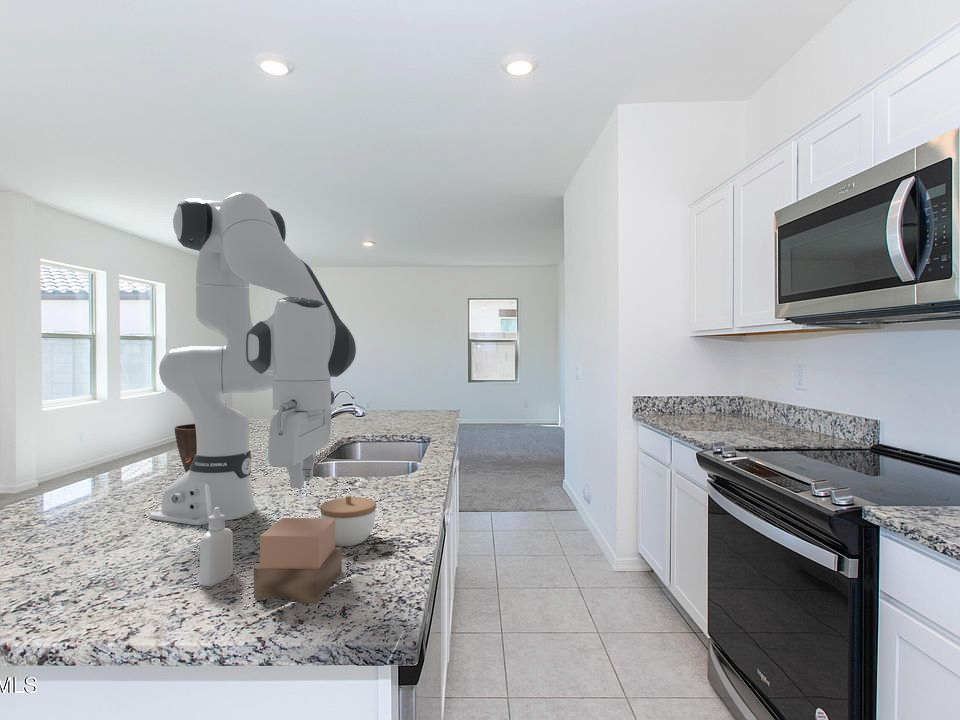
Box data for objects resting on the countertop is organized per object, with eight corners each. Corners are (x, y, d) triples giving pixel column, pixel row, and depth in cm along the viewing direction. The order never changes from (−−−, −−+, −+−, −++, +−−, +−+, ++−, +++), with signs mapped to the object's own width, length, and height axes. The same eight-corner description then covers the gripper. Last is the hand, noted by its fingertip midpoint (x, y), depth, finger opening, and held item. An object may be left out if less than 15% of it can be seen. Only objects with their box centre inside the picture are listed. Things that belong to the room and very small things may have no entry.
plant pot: (161, 483, 152) (161, 428, 152) (197, 472, 167) (197, 421, 167) (208, 486, 150) (208, 429, 150) (240, 474, 164) (241, 423, 164)
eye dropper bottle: (193, 581, 87) (193, 508, 87) (228, 571, 91) (228, 502, 91) (203, 589, 84) (203, 514, 84) (239, 578, 88) (239, 507, 88)
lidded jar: (347, 557, 98) (348, 506, 98) (308, 546, 104) (308, 498, 104) (387, 540, 107) (387, 494, 107) (348, 530, 113) (349, 486, 113)
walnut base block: (253, 600, 81) (253, 568, 81) (285, 574, 91) (285, 545, 91) (316, 604, 80) (316, 571, 80) (341, 577, 90) (341, 547, 90)
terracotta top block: (259, 568, 81) (259, 535, 81) (282, 547, 90) (282, 517, 90) (318, 569, 81) (318, 536, 81) (335, 547, 90) (335, 518, 90)
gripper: (301, 404, 75) (301, 501, 75) (337, 393, 95) (337, 470, 96) (256, 403, 75) (256, 501, 75) (301, 393, 95) (301, 470, 95)
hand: (301, 483), depth 85 cm, fingers open, 3 cm apart
